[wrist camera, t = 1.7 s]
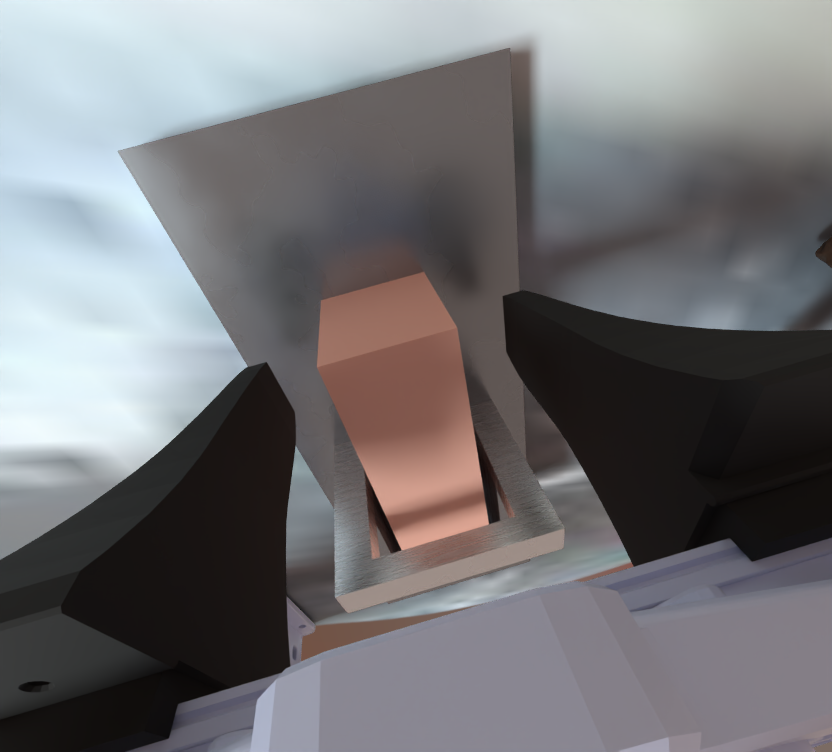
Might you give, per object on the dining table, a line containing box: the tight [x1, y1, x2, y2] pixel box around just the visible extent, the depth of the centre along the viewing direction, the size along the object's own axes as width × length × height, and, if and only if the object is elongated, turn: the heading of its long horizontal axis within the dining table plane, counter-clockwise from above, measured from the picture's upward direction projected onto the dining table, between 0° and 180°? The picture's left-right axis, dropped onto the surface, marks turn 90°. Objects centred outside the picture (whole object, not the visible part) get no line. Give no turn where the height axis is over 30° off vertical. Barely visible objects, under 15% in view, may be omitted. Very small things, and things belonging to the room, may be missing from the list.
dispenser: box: [118, 48, 565, 613], centre depth 13 cm, size 19×10×7 cm, turn 12°
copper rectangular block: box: [317, 272, 489, 550], centre depth 14 cm, size 12×4×4 cm, turn 12°
